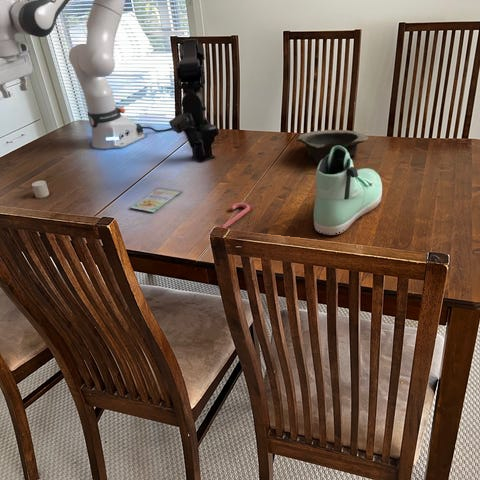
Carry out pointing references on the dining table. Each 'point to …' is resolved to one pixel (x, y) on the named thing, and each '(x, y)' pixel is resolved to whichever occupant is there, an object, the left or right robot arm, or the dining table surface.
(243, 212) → the candy cane
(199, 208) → the dining table surface
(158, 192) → the baking ingredient package
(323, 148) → the stone bowl
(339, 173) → the sneaker
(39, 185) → the canister
